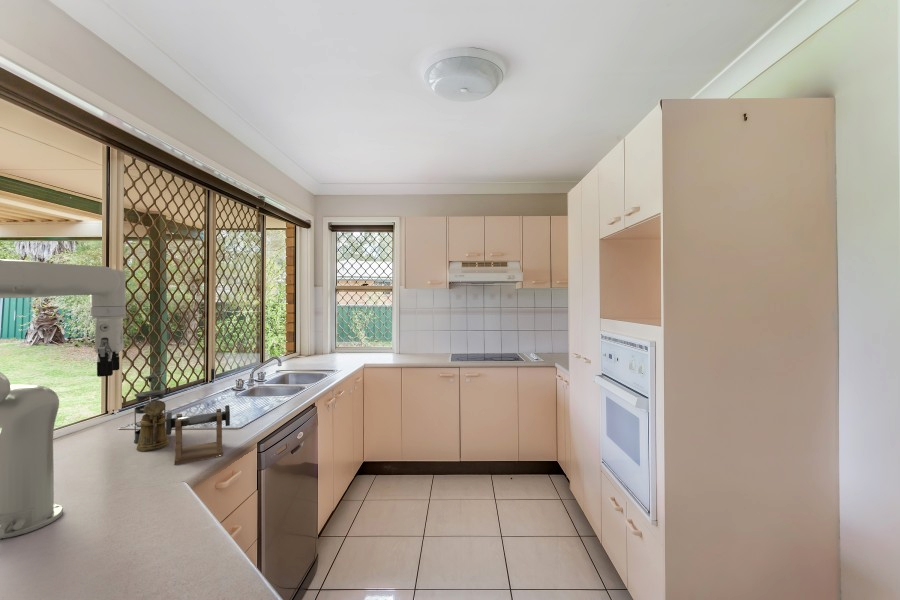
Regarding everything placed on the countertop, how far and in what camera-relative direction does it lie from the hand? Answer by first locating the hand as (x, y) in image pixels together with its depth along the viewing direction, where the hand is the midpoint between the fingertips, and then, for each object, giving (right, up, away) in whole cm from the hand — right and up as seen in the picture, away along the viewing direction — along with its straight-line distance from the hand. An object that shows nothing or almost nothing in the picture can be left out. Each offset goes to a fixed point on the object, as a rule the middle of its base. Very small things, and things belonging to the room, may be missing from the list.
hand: (108, 373), depth 111 cm
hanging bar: (+14, -21, +18) cm, 31 cm away
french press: (-13, -30, +32) cm, 46 cm away
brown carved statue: (-5, -30, +23) cm, 38 cm away
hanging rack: (+14, -30, +18) cm, 38 cm away
